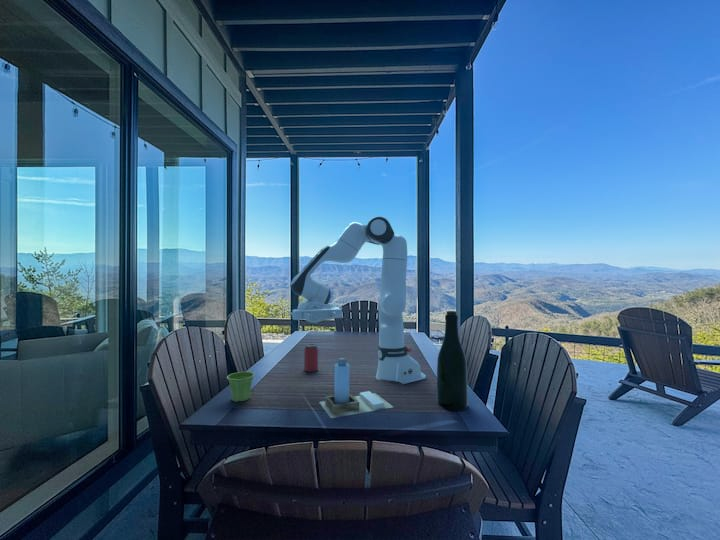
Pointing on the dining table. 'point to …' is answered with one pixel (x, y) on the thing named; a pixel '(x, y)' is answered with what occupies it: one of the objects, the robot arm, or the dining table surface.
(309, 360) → the beer can
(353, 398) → the jig
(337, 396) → the tapered blue cylinder
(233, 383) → the plant pot
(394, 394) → the dining table surface
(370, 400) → the white rectangular bar
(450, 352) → the green wine bottle
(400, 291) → the robot arm
